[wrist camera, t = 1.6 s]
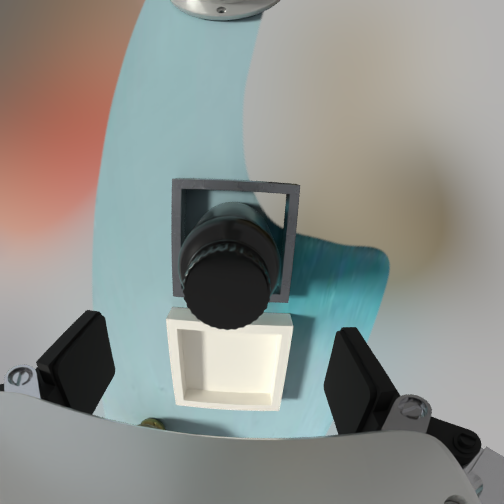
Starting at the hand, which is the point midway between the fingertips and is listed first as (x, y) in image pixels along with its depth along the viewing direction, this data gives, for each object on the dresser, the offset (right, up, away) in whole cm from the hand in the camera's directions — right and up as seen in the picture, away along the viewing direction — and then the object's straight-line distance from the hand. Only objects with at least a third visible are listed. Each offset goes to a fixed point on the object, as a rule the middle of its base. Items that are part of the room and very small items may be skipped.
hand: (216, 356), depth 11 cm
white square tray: (-1, -8, +20) cm, 21 cm away
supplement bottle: (0, +5, +16) cm, 17 cm away
